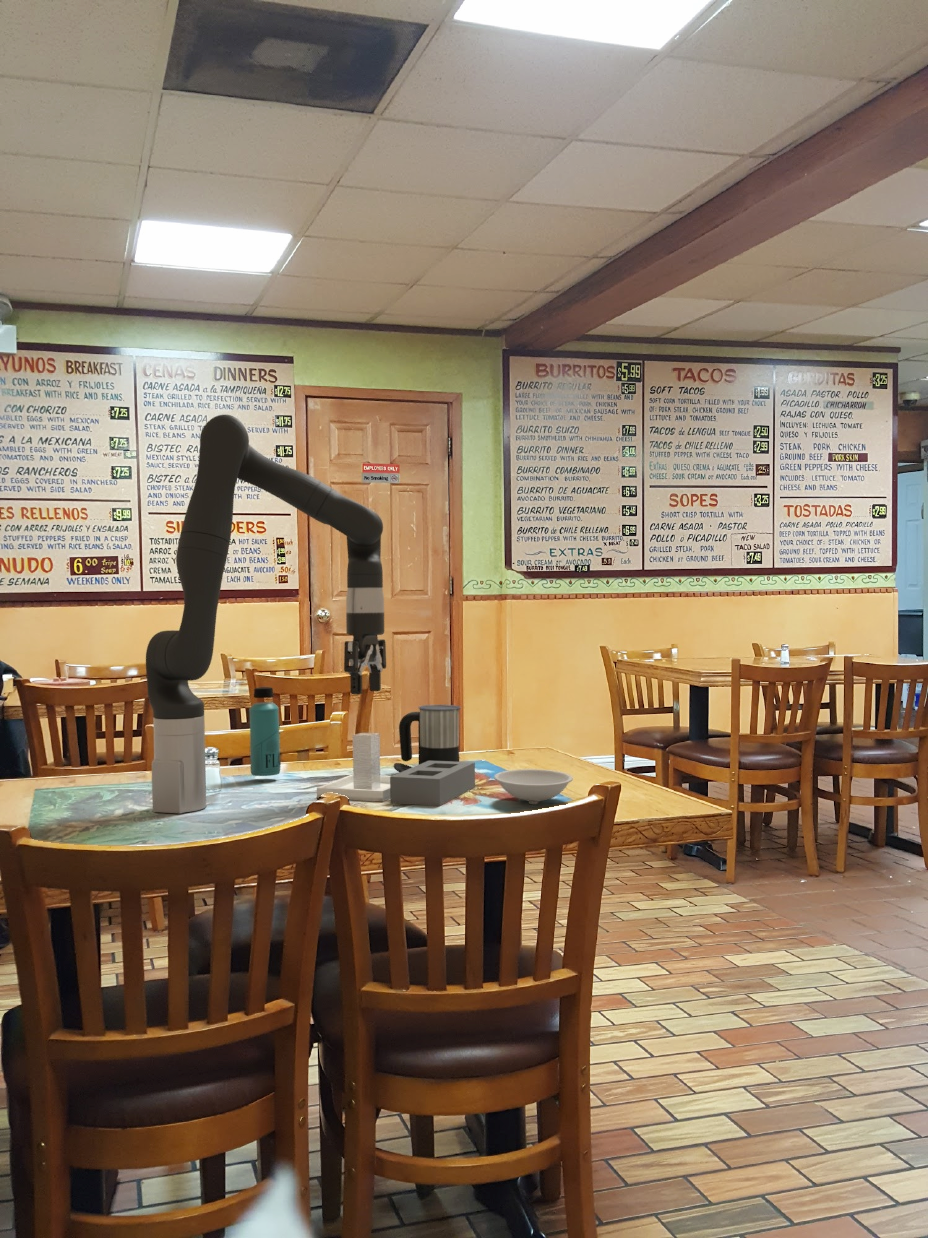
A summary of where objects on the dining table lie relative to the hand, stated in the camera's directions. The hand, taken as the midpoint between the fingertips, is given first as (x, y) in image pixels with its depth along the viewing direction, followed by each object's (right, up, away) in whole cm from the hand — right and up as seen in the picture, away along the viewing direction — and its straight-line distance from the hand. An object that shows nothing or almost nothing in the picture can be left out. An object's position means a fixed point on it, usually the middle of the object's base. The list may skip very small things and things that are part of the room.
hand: (366, 692), depth 213 cm
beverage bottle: (-23, -20, +17) cm, 35 cm away
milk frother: (+12, -20, +18) cm, 29 cm away
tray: (0, -20, +1) cm, 20 cm away
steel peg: (0, -19, +1) cm, 19 cm away
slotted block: (+14, -20, -3) cm, 24 cm away
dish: (+32, -20, -13) cm, 40 cm away
